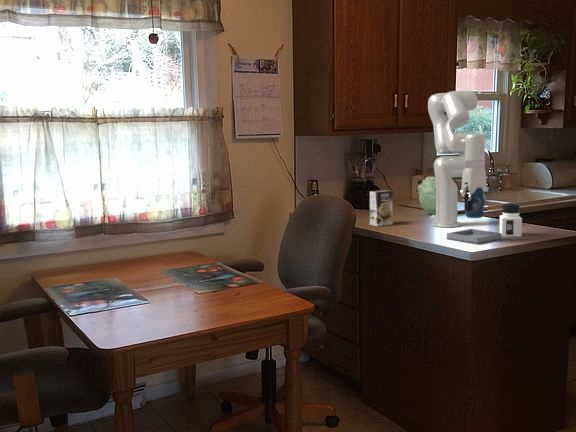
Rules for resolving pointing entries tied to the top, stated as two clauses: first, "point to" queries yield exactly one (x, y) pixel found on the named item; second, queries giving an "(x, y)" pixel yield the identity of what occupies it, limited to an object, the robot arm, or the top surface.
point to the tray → (474, 236)
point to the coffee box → (381, 208)
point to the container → (510, 220)
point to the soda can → (476, 204)
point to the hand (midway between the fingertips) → (474, 209)
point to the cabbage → (428, 195)
